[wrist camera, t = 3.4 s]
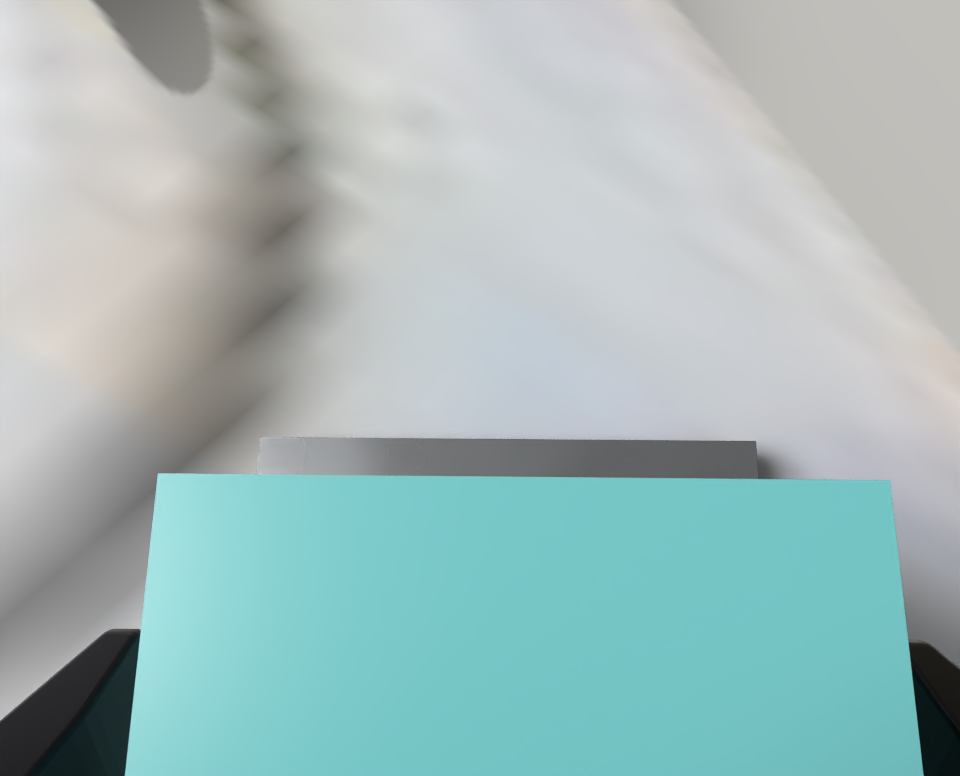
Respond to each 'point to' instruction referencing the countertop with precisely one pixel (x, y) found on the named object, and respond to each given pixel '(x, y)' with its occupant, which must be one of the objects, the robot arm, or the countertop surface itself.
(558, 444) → the post stand
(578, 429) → the countertop surface
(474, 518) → the turquoise square block
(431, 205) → the countertop surface
